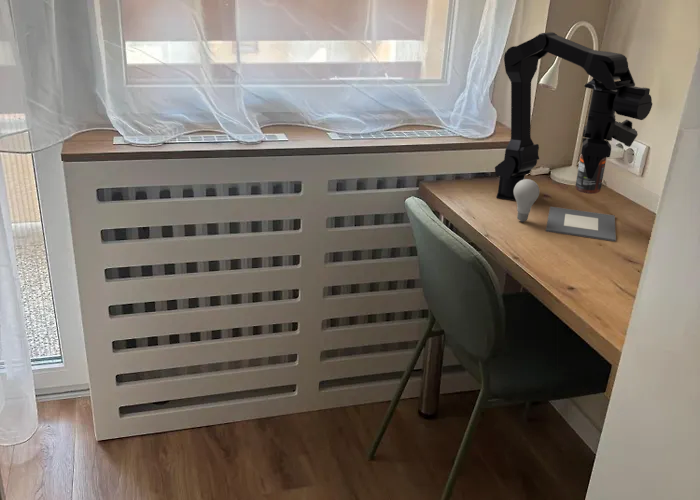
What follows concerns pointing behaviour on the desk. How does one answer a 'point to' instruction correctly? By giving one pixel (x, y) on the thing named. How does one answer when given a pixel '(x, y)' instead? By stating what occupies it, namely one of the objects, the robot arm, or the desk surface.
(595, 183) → the supplement bottle
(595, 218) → the card
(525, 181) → the lightbulb
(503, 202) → the desk surface
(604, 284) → the desk surface
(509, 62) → the robot arm
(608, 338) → the desk surface
